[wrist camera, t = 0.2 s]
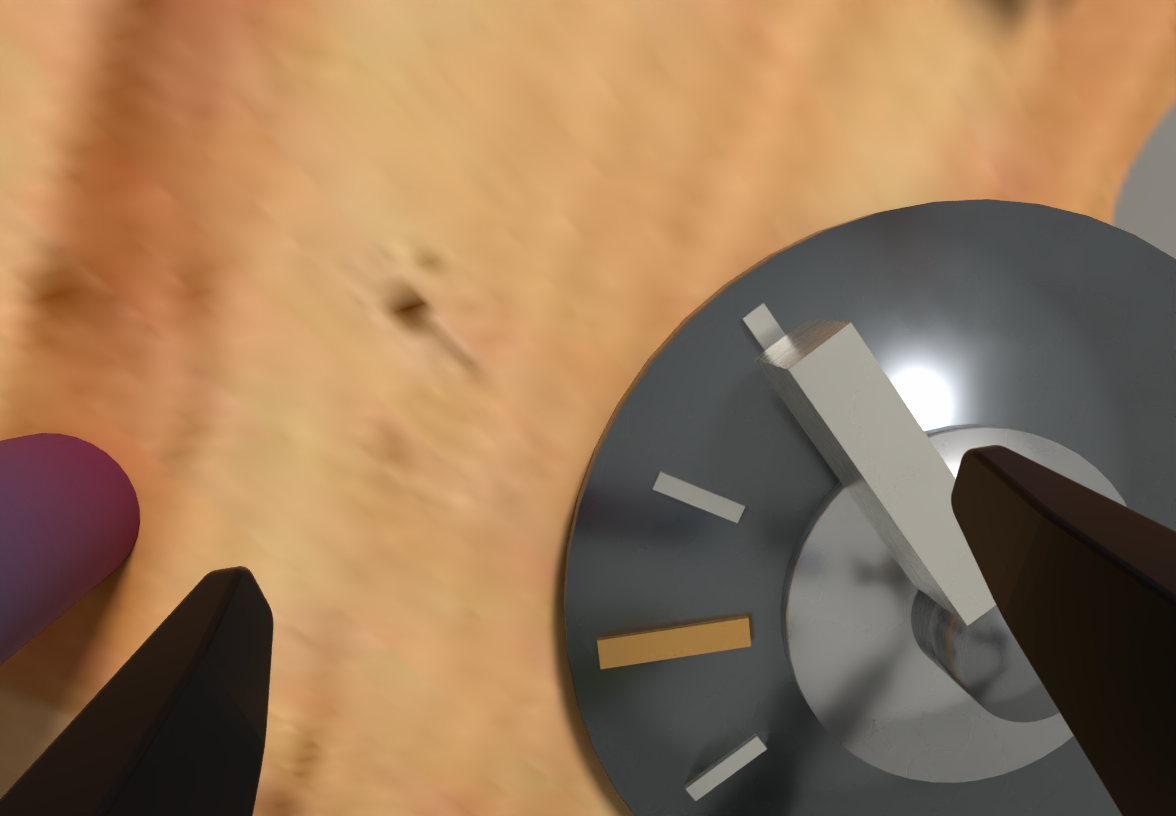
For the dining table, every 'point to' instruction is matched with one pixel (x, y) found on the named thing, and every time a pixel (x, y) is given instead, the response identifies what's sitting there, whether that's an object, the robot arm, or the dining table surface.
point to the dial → (903, 578)
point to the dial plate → (802, 478)
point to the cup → (57, 529)
